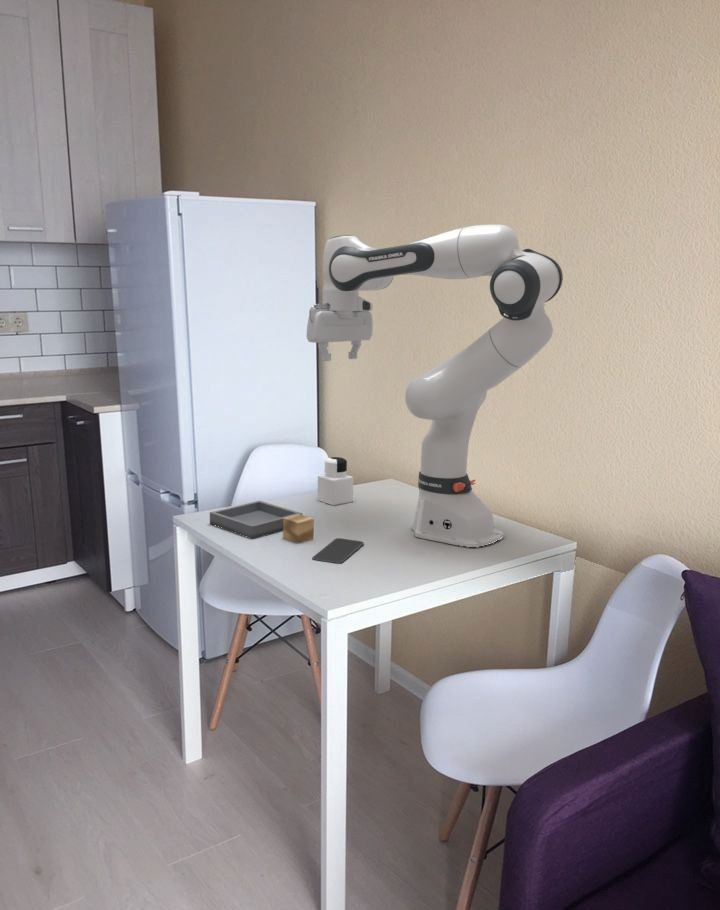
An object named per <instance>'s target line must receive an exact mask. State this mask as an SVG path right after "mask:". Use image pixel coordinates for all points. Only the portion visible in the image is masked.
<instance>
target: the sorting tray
mask: <svg viewBox="0 0 720 910" xmlns="http://www.w3.org/2000/svg"><path fill="white" fill-rule="evenodd" d="M297 514H300V515H303V512H299V511H296V510H292V509H289V508H286V507H282V506H279V505H275V504H272V503H269V502H265V501H263V500H257V501H256V500H255V501H252V502H247V503H243V504H239V505H235V506H231V507H227V508H223V509H219V510H214V511H211V512H209V525H211V524H213V525H212V526H214V525H216V526H215V527H217V526H219V527H222V528H224V529H223V530H225V529H227V530H226V531H228V530H230V531H229V532H231V531H233V532H232V533H234V532H236V533H235V534H237V533H238V534H237V535H240V534H241V535H240V536H242V535H244V536H243V537H245V536H247V537H246V538H248V537H250V538H249V539H251V538H252V540H254V539H258V538H261V537H264V536H263V535H265V536H267V534H269V535H271V533H272V534H276V533H279V532H283V518H286V517H290V516H294V515H297ZM219 527H218V528H219ZM222 528H221V529H222ZM275 532H276V533H275ZM260 536H261V537H260ZM257 537H258V538H257ZM253 538H254V539H253Z"/></svg>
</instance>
